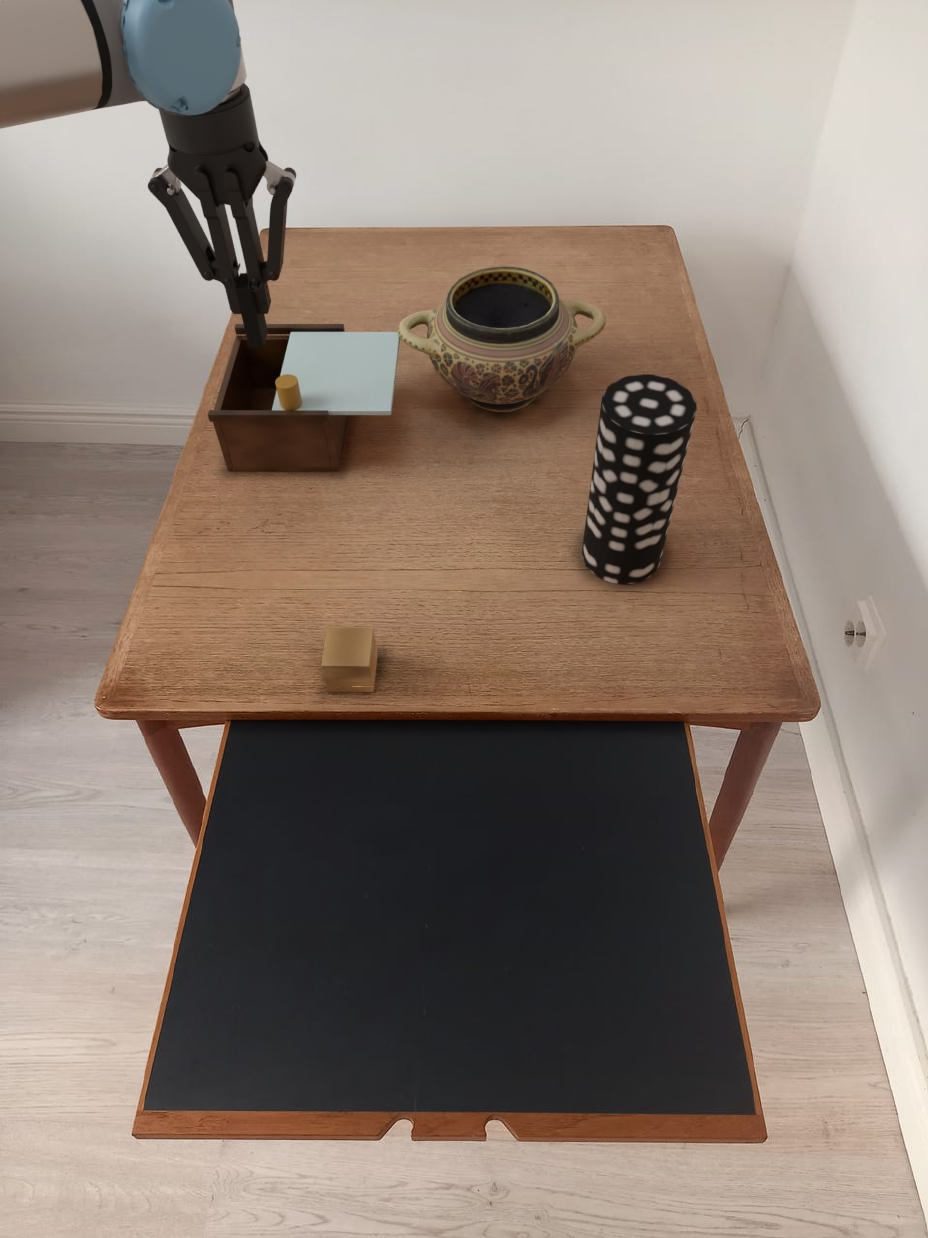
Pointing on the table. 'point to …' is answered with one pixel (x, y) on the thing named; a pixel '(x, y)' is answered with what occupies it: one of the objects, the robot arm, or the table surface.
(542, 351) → the ceramic bowl
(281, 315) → the table surface
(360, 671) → the block
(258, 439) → the wooden box
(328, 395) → the pale blue square panel
